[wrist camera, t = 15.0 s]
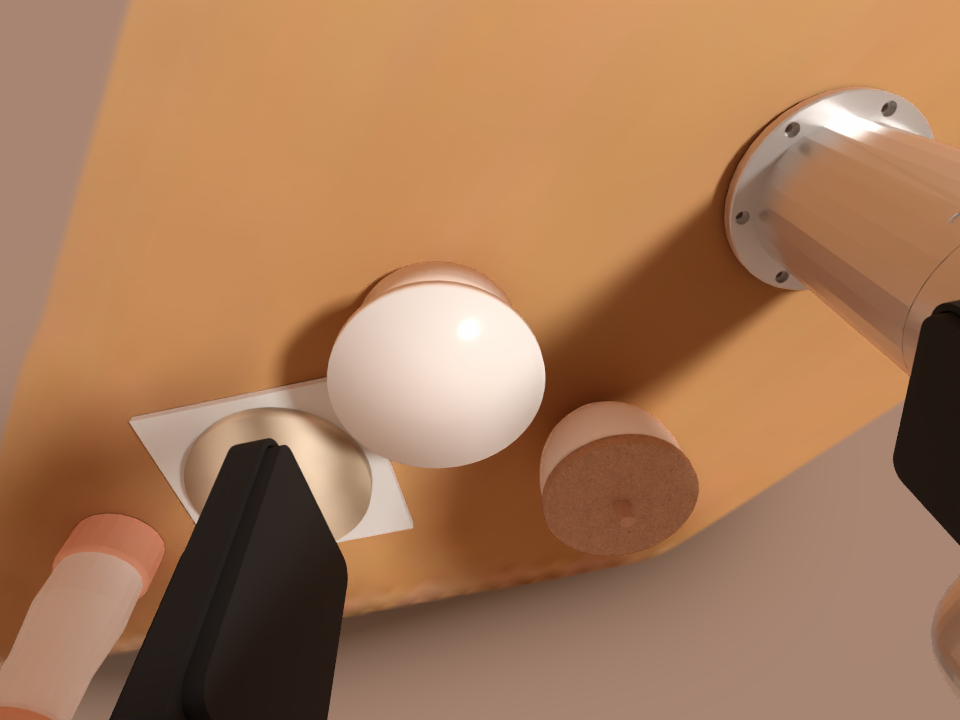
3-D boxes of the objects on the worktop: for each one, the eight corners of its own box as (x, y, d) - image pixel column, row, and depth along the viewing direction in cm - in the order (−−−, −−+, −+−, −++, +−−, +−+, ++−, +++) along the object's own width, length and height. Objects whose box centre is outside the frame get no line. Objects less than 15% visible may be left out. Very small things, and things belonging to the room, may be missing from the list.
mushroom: (513, 221, 39) (527, 266, 33) (543, 385, 46) (558, 447, 40) (315, 264, 40) (294, 315, 34) (374, 419, 47) (364, 484, 41)
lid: (339, 389, 44) (326, 446, 39) (393, 522, 52) (389, 584, 47) (155, 428, 45) (118, 488, 40) (235, 553, 53) (213, 617, 47)
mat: (355, 371, 44) (354, 375, 44) (413, 522, 53) (413, 528, 52) (132, 416, 45) (128, 422, 45) (224, 558, 54) (222, 564, 53)
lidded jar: (535, 490, 52) (552, 584, 44) (523, 386, 46) (541, 473, 38) (662, 473, 51) (703, 564, 43) (666, 366, 46) (714, 449, 38)
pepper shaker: (111, 499, 49) (-48, 757, 33) (183, 547, 53) (71, 802, 37) (54, 539, 51) (-123, 800, 35) (127, 582, 55) (-3, 839, 39)
